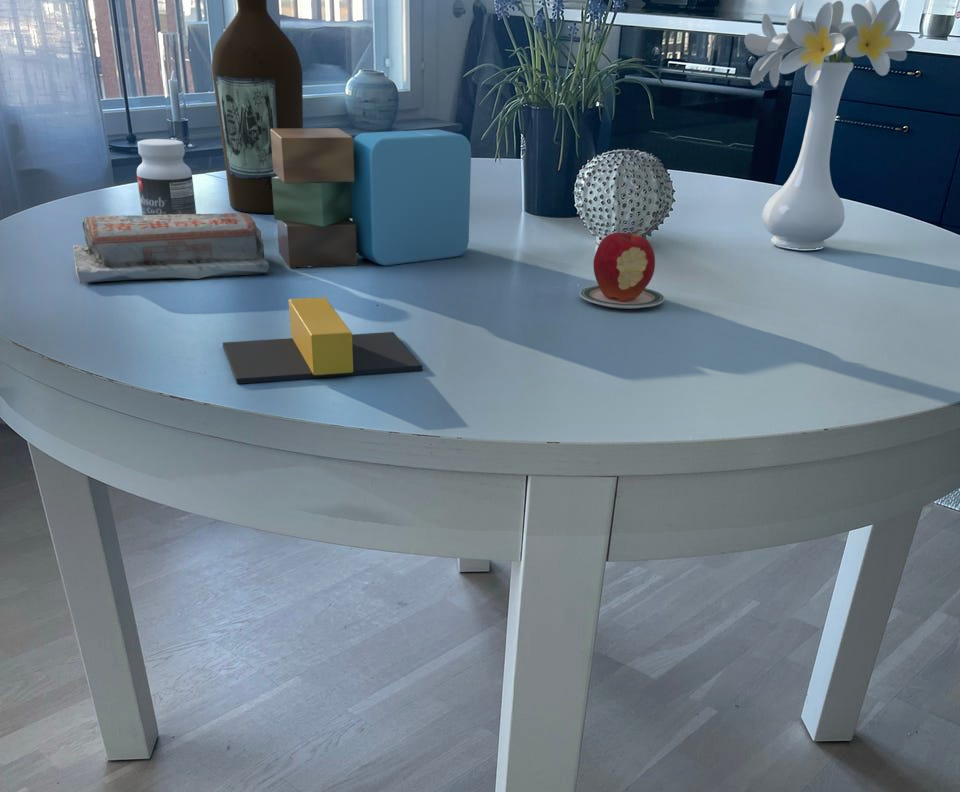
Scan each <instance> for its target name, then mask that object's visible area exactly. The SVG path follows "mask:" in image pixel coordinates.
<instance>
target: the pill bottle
mask: <svg viewBox="0 0 960 792" xmlns="http://www.w3.org/2000/svg"><path fill="white" fill-rule="evenodd" d="M137 150H138V151H137V152H138V155H139V156H140V157H141V161H142V162H141V163H140V164H139V165H138V166H137V168H136V179H137V186H138V187H137V188H138V193H139V201H140V209H141V215H170V214H171V215H176V214H197V208H196V199H195V190H194V181H193V173H192V172H193V171H192V170H191V168H190V166H188V165H187V164H186V163H185V162H184V156H185V154H186V151H185V150H186V149H185V143H184V141H181V140H177V139H170V138H169V139H168V138H150V139H149V138H147V139H142V140H138V141H137Z"/></svg>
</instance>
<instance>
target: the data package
mask: <svg viewBox="0 0 960 792" xmlns="http://www.w3.org/2000/svg"><path fill="white" fill-rule="evenodd" d="M353 149H354V180H355V181H354V182H351V204H352V218H351V221H353V222H354V223H355V224H356V241H357V256H360V257H361V258H364V259H366V260H368V261H370V262H373V263H375V264H378V265H380V266H384V267H385V266H395V265H403V264H410V263H411V264H413V263H418V262H419V263H420V262H427V261H433V260H434V261H436V260H442V259H451V258H457V257H460V256H462V255H463V254H464V253H465V252H466V250H467V249H468V247H469V241H470V211H471V209H470V207H471V173H472V172H471V171H472V170H471V169H472V147H471V144H470V140H468V138H467V137H466V136H464V135H463V134H460V133H455V132H452V131H448V130H447V131H446V130H442V129H438V128H437V129H435V128H433V129H417V130H414V129H413V130H397V131H396V130H395V131H377V132H375V131H374V132H362V133H359V134H357V135H356V136H354V137H353Z"/></svg>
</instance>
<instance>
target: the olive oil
mask: <svg viewBox="0 0 960 792" xmlns="http://www.w3.org/2000/svg"><path fill="white" fill-rule="evenodd" d="M236 3H237V12H236V14H235V16H234V18H233V19H232V20H231V22H230V23H229V24H228V26H227V27H226V29H225V30H224V31H223V33H222V34H221V36H220V37H219V39H217V42H216V44H215V46H214V49H213V54H212V59H211V75H212V82H213V89H214V96H215V102H216V108H217V116H218V121H219V131H220V137H221V145H222V150H223V159H224V166H225V175H226V182H227V191H228V198H229V205H230V207H231V209H233V210H236V211H238V212H241V213H248V214H262V215H263V214H266V215H267V214H272V215H274V204H273V191H272V177H276V176H277V175H276V174H275V173H274V171H273V160H272V146H271V133H270V129H283V128H304V111H303V109H304V108H303V107H304V106H303V105H304V102H303V100H304V99H303V98H304V95H303V92H304V91H303V90H304V89H303V88H304V87H303V86H304V85H303V84H304V83H303V68H302V63H301V60H300V57H299V54H298V51H297V49H296V47H295V45H294V44H293V42H292V41H291V40H290V39H289V37H288V36H287V35H286V34H285V33H284V31H283V30H282V29H281V28H280V26H279V25H278V24H277V23H276V22H275V21H274V19H273V18H272V17H271V15H270V14H269V12H268V6H267V5H268V3H267V0H236Z"/></svg>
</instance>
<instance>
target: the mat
mask: <svg viewBox="0 0 960 792" xmlns="http://www.w3.org/2000/svg"><path fill="white" fill-rule="evenodd" d="M222 349H223V351H224V354H225V356H226V359H227V362H228V364H229V366H230V367H229V368H230V370H231V372H232V374H233V375H232V376H233V377H234V380H235V383H236V384H237V385H243V384H255V383H257V384H258V383H269V382H282V381H283V382H284V381H296V380H297V381H298V380H309V379H322V378H338V377H350V376H363V375H365V376H366V375H378V374H391V373H405V372H418V371H419V372H420V371H423V365H422V363H421V362H420V361H419V360H418V358H417V357H416V356H415V355H414V354H413V353H412V352H411V351H410V350H409V349H408V347H407V346H406V344H405V343H403V341H402V340H401V339H400V337H398V335H397V334H396V333H395V332H394V331H386V332H385V331H384V332H369V333H355V334H353V333H352V351H353V372H352V373H339V374H326V375H313V373H312V371H311V370H310V368H309V366H308V364H307V363H306V361H305V359H304V357H303V356H302V354H301V352H300V350H299V349H298V347H297V345H296V344H295V342H294V340H293V338H292V337H291V338H290V337H288V338H272V339H257V340H256V339H255V340H243V341H242V340H240V341H226V342H224V341H223V342H222Z"/></svg>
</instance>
